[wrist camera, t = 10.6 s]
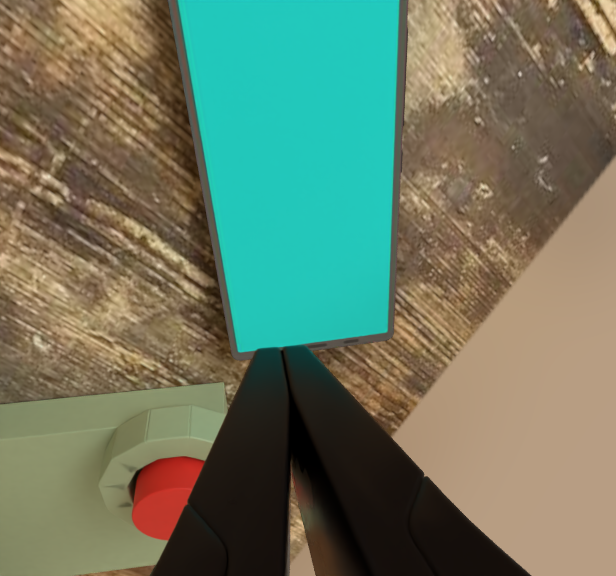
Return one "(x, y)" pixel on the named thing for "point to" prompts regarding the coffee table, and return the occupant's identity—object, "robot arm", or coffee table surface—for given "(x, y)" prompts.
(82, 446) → the button box
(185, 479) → the button
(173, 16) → the smartphone
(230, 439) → the robot arm
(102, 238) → the coffee table surface
